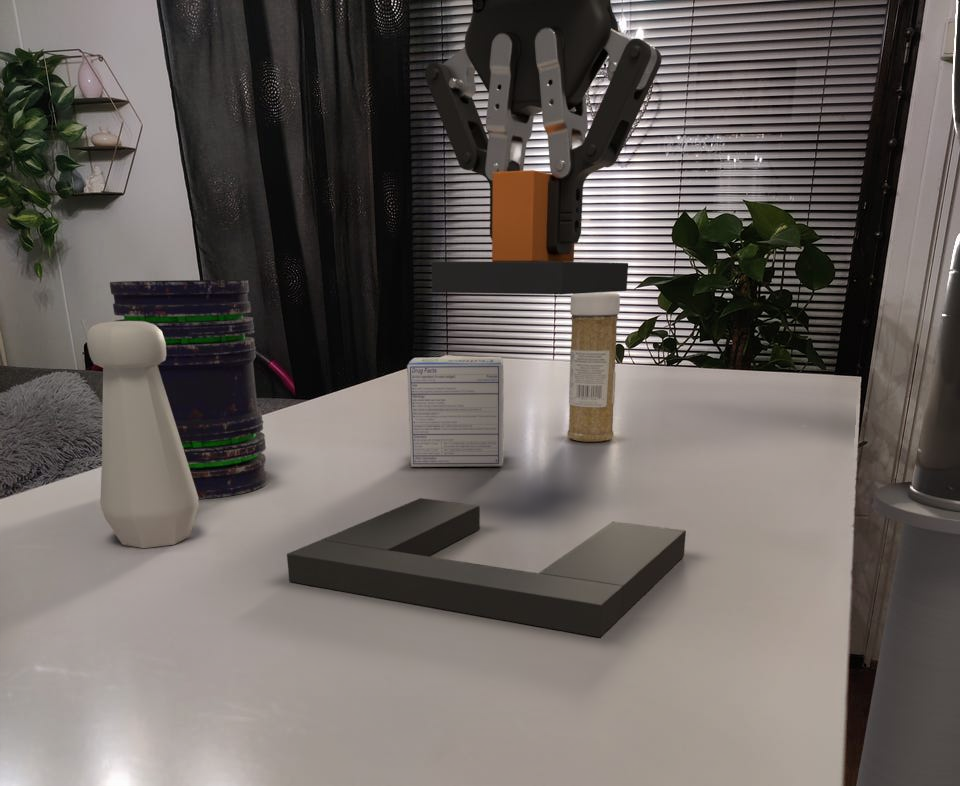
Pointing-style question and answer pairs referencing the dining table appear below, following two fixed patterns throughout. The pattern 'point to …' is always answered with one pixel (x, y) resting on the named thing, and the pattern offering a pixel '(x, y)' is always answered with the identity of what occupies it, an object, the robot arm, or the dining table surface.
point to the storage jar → (206, 376)
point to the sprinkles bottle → (592, 365)
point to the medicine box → (456, 411)
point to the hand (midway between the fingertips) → (533, 252)
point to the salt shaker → (140, 439)
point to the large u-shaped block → (489, 568)
